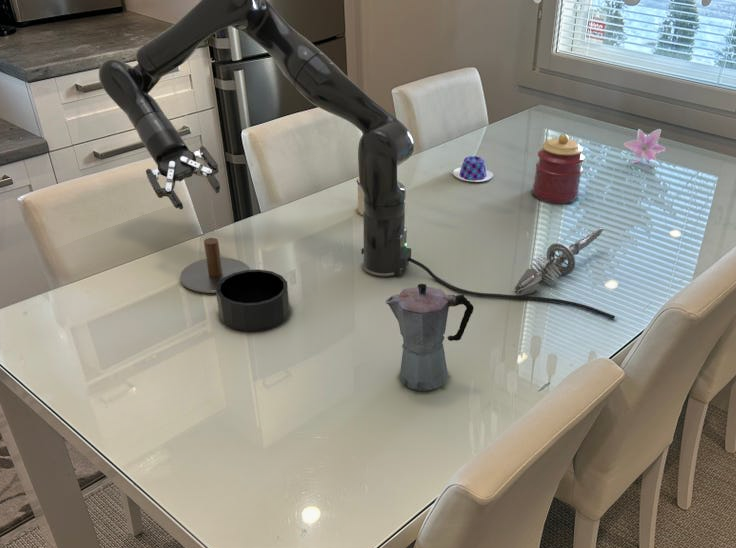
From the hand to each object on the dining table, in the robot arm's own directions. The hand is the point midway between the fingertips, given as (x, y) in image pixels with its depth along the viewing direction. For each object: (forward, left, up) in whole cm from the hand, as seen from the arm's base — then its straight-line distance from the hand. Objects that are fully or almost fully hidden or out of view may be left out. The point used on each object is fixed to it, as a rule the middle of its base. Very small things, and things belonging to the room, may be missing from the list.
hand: (200, 199), depth 156 cm
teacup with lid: (-27, -42, -17) cm, 53 cm away
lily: (-97, -106, -17) cm, 145 cm away
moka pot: (-56, +26, -17) cm, 64 cm away
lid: (-3, +4, -16) cm, 17 cm away
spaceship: (-77, -22, -17) cm, 82 cm away
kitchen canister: (-72, -68, -17) cm, 101 cm away
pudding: (-47, -74, -17) cm, 90 cm away
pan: (-17, +15, -17) cm, 28 cm away
